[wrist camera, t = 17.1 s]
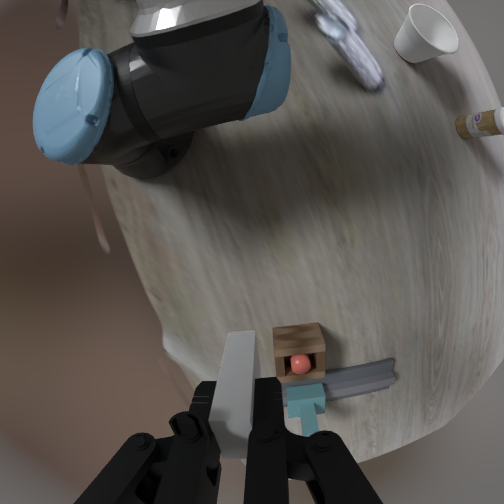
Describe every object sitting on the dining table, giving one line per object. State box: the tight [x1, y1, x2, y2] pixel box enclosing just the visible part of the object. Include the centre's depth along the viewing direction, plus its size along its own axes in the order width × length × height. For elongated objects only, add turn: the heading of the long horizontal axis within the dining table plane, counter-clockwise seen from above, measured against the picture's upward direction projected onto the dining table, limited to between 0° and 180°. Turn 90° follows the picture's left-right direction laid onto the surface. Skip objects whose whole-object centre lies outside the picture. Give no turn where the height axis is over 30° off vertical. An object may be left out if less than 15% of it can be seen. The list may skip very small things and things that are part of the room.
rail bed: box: [281, 358, 396, 407], centre depth 48 cm, size 24×8×3 cm, turn 97°
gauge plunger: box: [290, 354, 311, 374], centre depth 42 cm, size 3×3×4 cm
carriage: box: [286, 383, 325, 437], centre depth 43 cm, size 7×5×12 cm
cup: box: [394, 4, 459, 63], centre depth 28 cm, size 10×10×11 cm
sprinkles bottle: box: [456, 107, 504, 139], centre depth 30 cm, size 5×5×14 cm
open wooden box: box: [273, 323, 326, 383], centre depth 44 cm, size 8×7×7 cm
